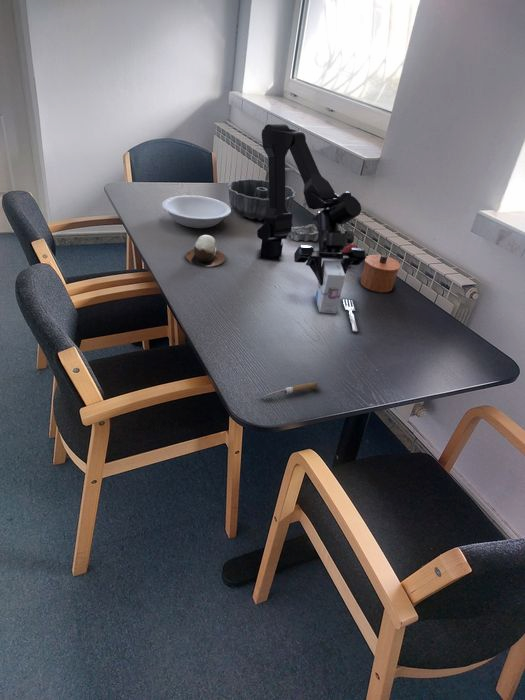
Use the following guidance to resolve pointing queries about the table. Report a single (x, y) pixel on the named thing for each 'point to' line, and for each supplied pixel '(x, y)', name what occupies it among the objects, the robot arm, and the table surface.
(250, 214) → the bundt pan
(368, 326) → the table surface
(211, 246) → the brown and cream dessert
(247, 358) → the table surface
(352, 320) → the fork
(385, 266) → the pot lid
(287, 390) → the folding knife
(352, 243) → the onion
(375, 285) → the pot
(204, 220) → the soup bowl
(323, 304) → the ink box
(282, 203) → the robot arm
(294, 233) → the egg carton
